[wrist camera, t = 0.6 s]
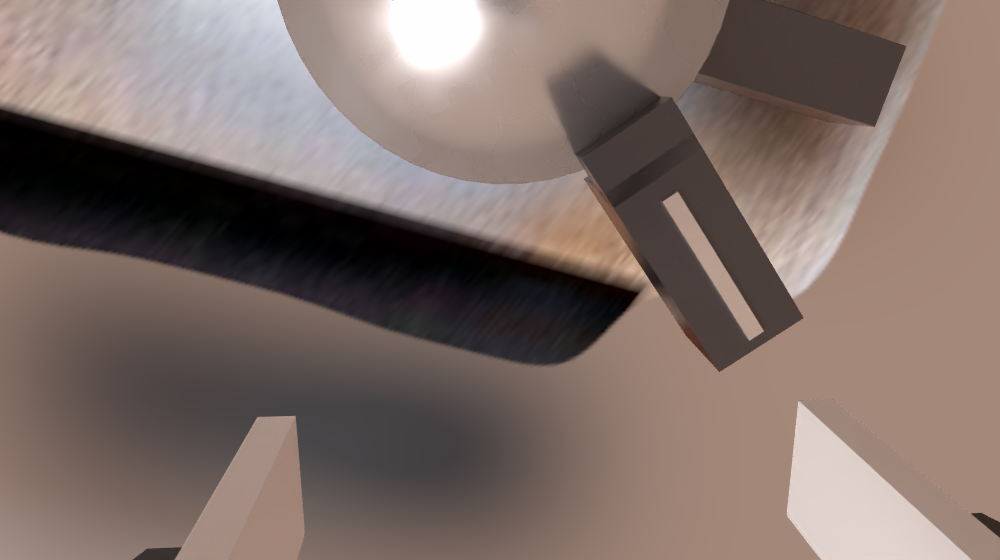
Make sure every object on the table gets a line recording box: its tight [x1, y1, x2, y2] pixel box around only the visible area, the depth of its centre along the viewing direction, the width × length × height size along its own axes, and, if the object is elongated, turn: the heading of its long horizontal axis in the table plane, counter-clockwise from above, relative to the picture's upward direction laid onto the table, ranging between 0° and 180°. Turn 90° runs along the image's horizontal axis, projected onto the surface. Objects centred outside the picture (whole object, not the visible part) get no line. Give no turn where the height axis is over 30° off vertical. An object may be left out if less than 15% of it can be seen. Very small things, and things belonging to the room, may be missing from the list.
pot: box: [693, 0, 906, 127], centre depth 31 cm, size 14×23×8 cm, turn 74°
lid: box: [277, 0, 803, 372], centre depth 26 cm, size 15×24×5 cm, turn 34°
